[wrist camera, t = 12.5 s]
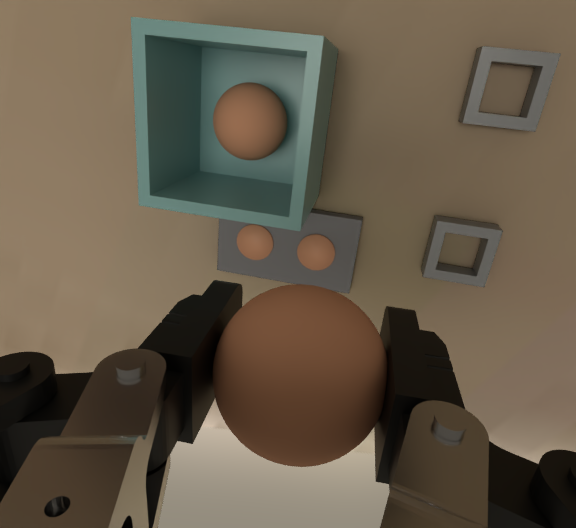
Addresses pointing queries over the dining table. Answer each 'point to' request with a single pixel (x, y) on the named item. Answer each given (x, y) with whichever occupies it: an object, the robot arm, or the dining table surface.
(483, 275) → the frame
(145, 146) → the teal open box
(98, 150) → the dining table surface
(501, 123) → the frame
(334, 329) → the ball
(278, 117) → the ball
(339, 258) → the card
